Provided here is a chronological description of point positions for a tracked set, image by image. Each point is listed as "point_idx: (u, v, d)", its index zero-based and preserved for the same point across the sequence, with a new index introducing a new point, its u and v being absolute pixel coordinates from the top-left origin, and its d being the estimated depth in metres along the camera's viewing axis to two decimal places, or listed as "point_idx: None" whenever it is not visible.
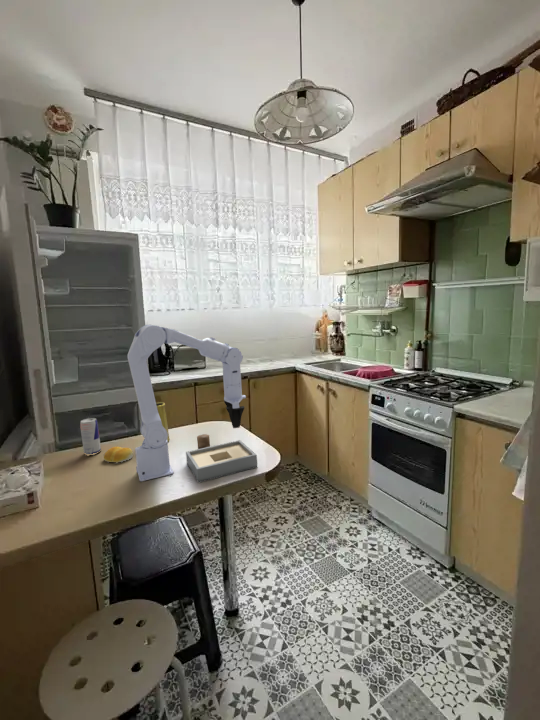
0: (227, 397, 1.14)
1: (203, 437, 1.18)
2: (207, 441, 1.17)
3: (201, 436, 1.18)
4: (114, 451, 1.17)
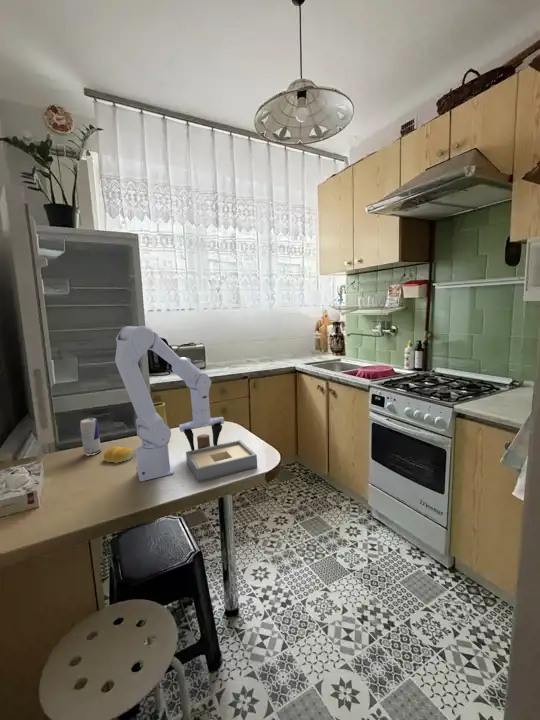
0: None
1: (203, 437, 1.18)
2: (207, 441, 1.17)
3: (201, 436, 1.18)
4: (114, 451, 1.17)
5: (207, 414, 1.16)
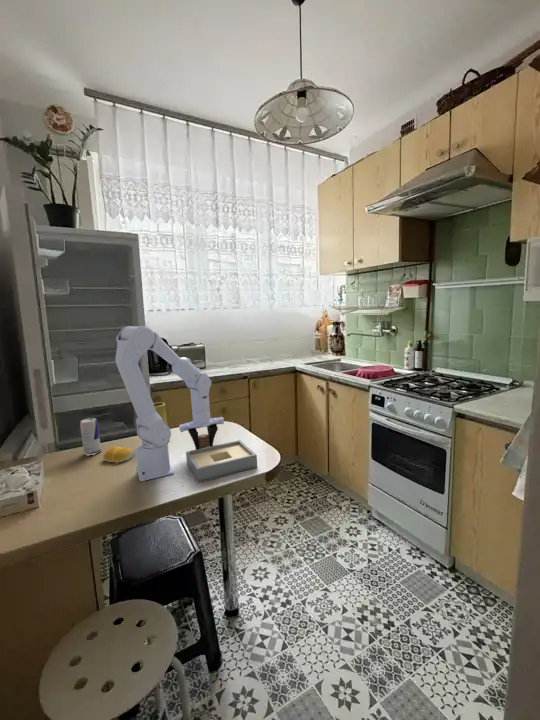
0: None
1: (203, 437, 1.18)
2: (207, 441, 1.17)
3: (202, 436, 1.18)
4: (114, 451, 1.17)
5: (207, 414, 1.16)
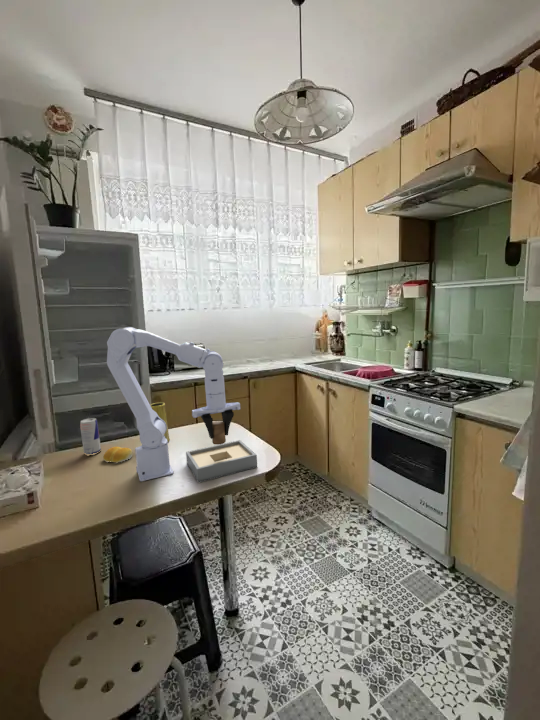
0: None
1: (217, 423, 1.07)
2: (222, 428, 1.07)
3: (216, 423, 1.08)
4: (113, 451, 1.17)
5: (222, 398, 1.05)
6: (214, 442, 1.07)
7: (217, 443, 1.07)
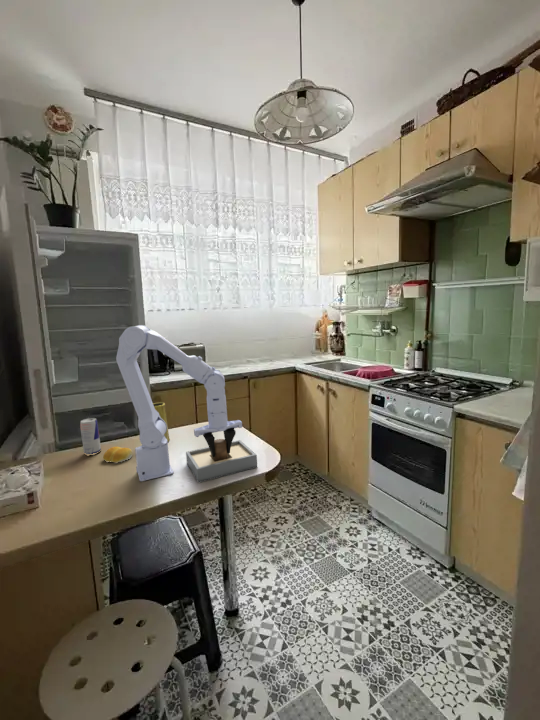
0: None
1: (219, 442, 1.08)
2: (224, 446, 1.07)
3: (218, 441, 1.08)
4: (113, 451, 1.17)
5: (224, 417, 1.06)
6: (216, 460, 1.08)
7: None
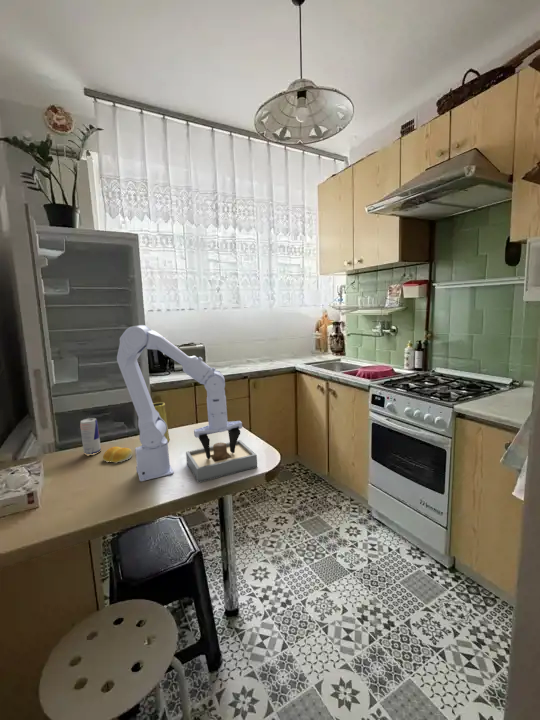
0: None
1: (219, 445, 1.08)
2: (224, 450, 1.08)
3: (218, 445, 1.08)
4: (113, 451, 1.17)
5: (224, 418, 1.06)
6: None
7: None
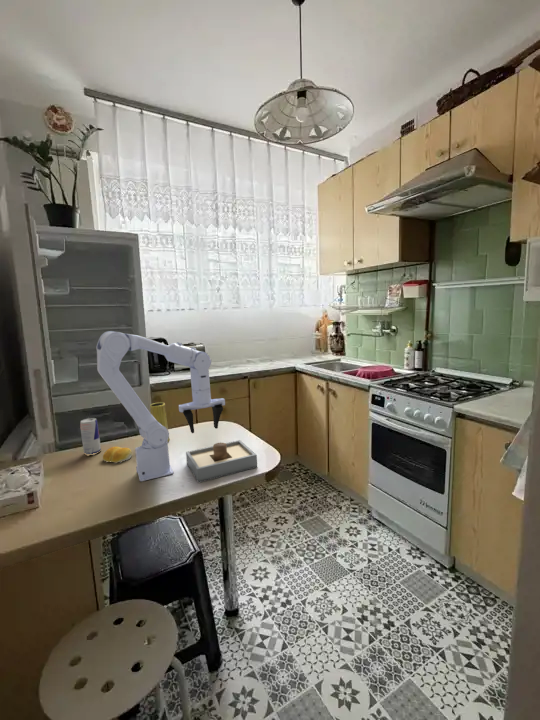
0: None
1: (219, 445, 1.08)
2: (224, 450, 1.08)
3: (218, 445, 1.08)
4: (113, 451, 1.17)
5: (207, 394, 1.11)
6: None
7: None
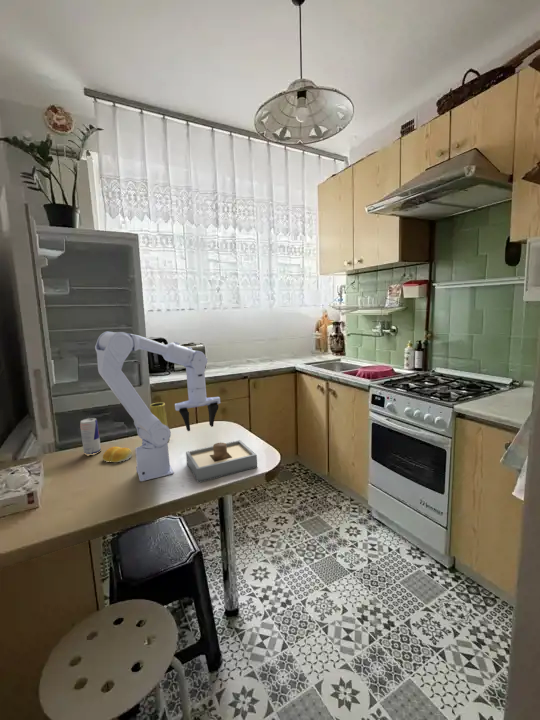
0: None
1: (219, 445, 1.08)
2: (224, 450, 1.08)
3: (218, 445, 1.08)
4: (113, 451, 1.17)
5: (203, 393, 1.13)
6: None
7: None
